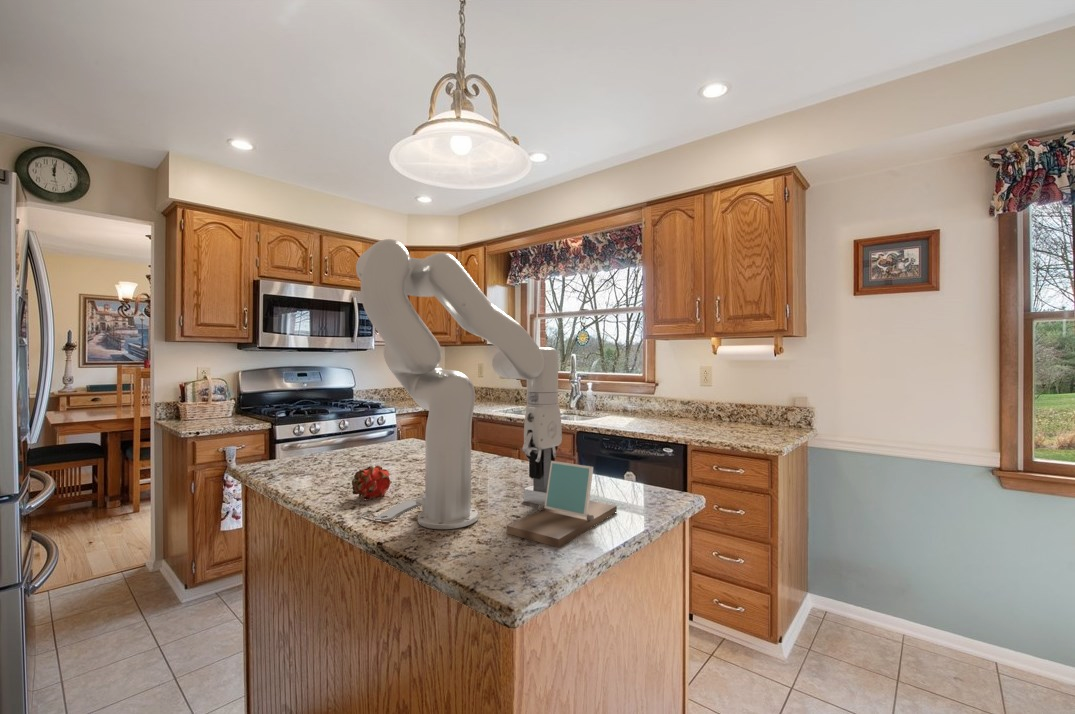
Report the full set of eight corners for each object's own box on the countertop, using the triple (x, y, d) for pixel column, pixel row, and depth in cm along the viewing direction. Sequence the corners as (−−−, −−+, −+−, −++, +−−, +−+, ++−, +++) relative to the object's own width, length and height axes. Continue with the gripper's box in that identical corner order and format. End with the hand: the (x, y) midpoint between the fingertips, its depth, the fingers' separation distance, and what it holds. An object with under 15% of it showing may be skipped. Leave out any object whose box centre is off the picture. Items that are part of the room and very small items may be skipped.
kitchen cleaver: (427, 487, 124) (458, 491, 119) (428, 491, 124) (458, 495, 119) (350, 515, 103) (384, 520, 98) (350, 520, 103) (384, 525, 98)
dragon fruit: (351, 512, 111) (382, 504, 122) (378, 492, 109) (407, 487, 121) (336, 479, 113) (369, 475, 125) (363, 460, 112) (393, 458, 123)
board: (505, 533, 93) (505, 519, 93) (568, 502, 113) (568, 491, 113) (560, 547, 86) (560, 532, 86) (618, 513, 106) (618, 500, 106)
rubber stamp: (551, 507, 110) (551, 446, 110) (523, 501, 114) (523, 442, 114) (560, 502, 113) (560, 443, 113) (533, 497, 118) (533, 440, 118)
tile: (546, 507, 103) (544, 507, 102) (553, 461, 105) (550, 460, 104) (587, 516, 97) (585, 516, 96) (593, 466, 99) (591, 466, 98)
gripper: (534, 402, 105) (534, 486, 105) (574, 397, 119) (573, 471, 119) (507, 401, 109) (507, 480, 109) (548, 396, 123) (548, 467, 123)
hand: (542, 475), depth 114 cm, fingers open, 4 cm apart
